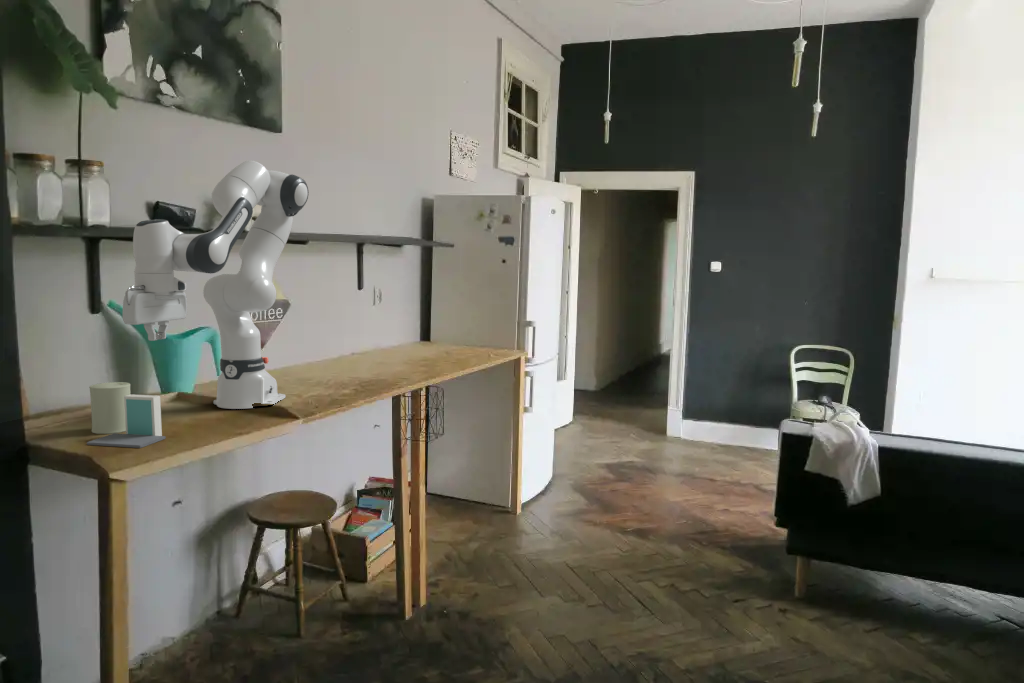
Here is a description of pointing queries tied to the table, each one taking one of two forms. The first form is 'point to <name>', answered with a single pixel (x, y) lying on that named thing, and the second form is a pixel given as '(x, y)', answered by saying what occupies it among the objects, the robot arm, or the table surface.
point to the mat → (126, 440)
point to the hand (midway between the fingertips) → (157, 339)
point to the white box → (143, 415)
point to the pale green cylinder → (108, 407)
